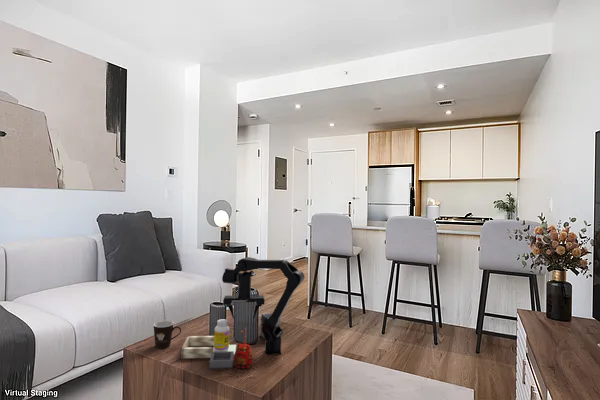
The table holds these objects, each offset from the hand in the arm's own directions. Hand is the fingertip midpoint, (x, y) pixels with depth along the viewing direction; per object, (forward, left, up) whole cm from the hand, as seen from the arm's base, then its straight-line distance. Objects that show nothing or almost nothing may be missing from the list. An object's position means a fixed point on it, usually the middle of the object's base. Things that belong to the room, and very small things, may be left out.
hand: (243, 318), depth 164 cm
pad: (+8, +4, -13) cm, 16 cm away
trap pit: (+8, +16, -13) cm, 22 cm away
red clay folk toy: (-1, +19, -13) cm, 23 cm away
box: (-13, -12, -13) cm, 22 cm away
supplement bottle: (+9, +4, -13) cm, 16 cm away
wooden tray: (+19, +4, -13) cm, 23 cm away
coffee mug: (+35, -2, -13) cm, 38 cm away
